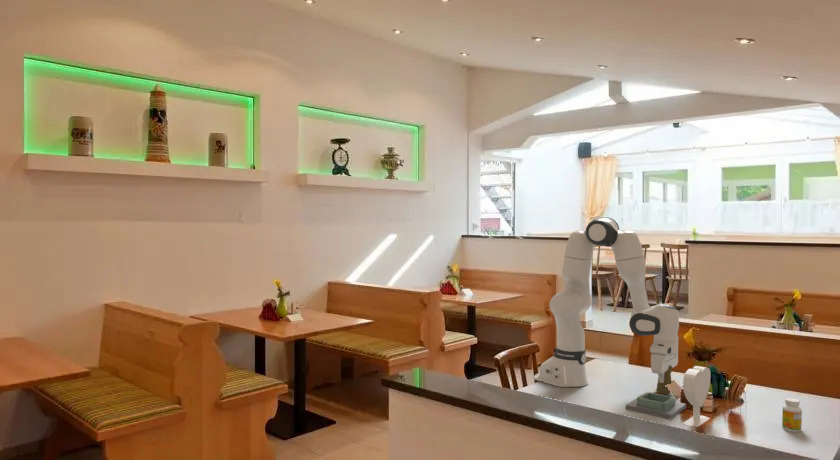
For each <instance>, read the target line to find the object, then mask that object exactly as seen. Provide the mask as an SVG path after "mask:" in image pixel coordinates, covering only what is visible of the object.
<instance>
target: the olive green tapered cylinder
mask: <svg viewBox="0 0 840 460" xmlns="http://www.w3.org/2000/svg"><path fill="white" fill-rule="evenodd" d="M672 372H673V368H672V366H671V365H670V366H669V368H668V370H667V371H666V372H665V374H664V378H665V382H664V383H660V382H659V376H658V379H657V385H656V391H655V392H657V394H662V395H672V394H671V393H670V391H669V390H668V388H667V387H665V385H667V384H671V383H672Z"/></svg>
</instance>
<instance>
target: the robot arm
mask: <svg viewBox="0 0 840 460" xmlns="http://www.w3.org/2000/svg"><path fill="white" fill-rule="evenodd" d="M596 246H600V247H608V248H611V250H612V251H613V255H614V260H615V266H616V269H617V272H618V273H619V277H620V278H621V279H622V280H623V281H624V283H626V286H627V288H628V289H629V294H630V299H631V303H632V311H631V316H630V318H629V322H628V323H629V324H628V325H629V328H630V330H631V332H632V333H634V334H635V335H637V336H640V337H642V336H643V337H645V336H653V342H652V343H651V346H650V347H649V352H650V353H651V355H650V369H651V373H652V374H657V375H658V377H659V382H660V383H664V382H665V378H664V374H665V372H666V371H667V370H668V368H669V366H670V365H671V366H672V369H673V368H675V367H677V365H678V364H679V334H678V332H679V328H680V316H679V310H678V309H677V308H676V307H675V306H673V305H671V304H667V303H663V302H662V303H657V304H656V305H654V306H651V305H650V303H649V300H648V299H649V298H648V294H647V290H646V283H645V282H646V272H647V271H646V258H645V254H644V249H643V246H642V244H641V240H640V237H639V236H638V234H637V233H636V232H635V231H634V230H633V231H632V230H620V227H619V223H618V222H617V221H616V220H615V219H613V218H611V217H609V216H608V217H602V216H600V217H598V218H595V219H593V220H591V221H590V222H589V223H588V224H587V226H586V228H585V230H575V231H573V232H572V233H570V234H569V237H568V240H567V242H566V247H565V250H564V251H565V252H564V255H563V264H562V270H561V275H562V277H563V279H564V281H563V282H564V290H562V291H558V292H557V293H556V294H555V295H553V296H552V297H551V298H550V301H549V309H550V311H551V313H552V314H553V316H554V319H555V320H554V321H555V324H556V325H555V326H556V332H557V333H556V334H557V342H556V343H557V346H556V347H555V348H553V349H552V350H551V354H552V353H553V354H552V355H553V356H551V357H550V358H548V359H546V360H545V361H544V362H542V363H541V365H540V367H539V370H538V371H539V372H538V373H536V374H534V376H533V380H535V381H539V382H541V383H545V384H549V385H552V386H556V387H559V388H567V387H570V388H571V387H572V388H577V387H579V388H580V387H585V386H587V385H588V384H589V380H588V377H587V372H586V358H587V357H586V349H585V347H586V346H585V344H586V343H585V338H586V337H585V336H586V334H585V333H586V332H585V329H584V328H583V326H582V322H581V315H582V314H585V313H586V312H587V311H588V310H589V309H590V308H591V306H592V304H593V297H592V295H591V289H590V273H591V266H592V260H593V253H594V249H595V247H596ZM542 381H543V382H542Z"/></svg>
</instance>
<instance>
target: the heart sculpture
mask: <svg viewBox="0 0 840 460" xmlns="http://www.w3.org/2000/svg"><path fill="white" fill-rule="evenodd" d="M711 378H712V377H711V369H710V368H709V367H705V366H699V365H694V366H693V367H692V368H688V369H687V370H686V371H685V373H684V374H683V379H682V380H683V381H682V383H683V385H682V386H683V393H684V397H685V398H686V400H687V401H688V403H690V405H691V406H692V407H693V409H692V416H690V418H688V419H687V420H685V421H683V422H682V424H684V425H687V426H690V427H697V428H699V427H700V426H701V425H702V424H704V423H705V422H707V421H709V420H710V419H711V418H710V417H708V416H706V415H701V408H703V406H704V403H705V402H706V399H707V397H708V393H709V390H710V386H711Z"/></svg>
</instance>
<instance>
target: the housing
mask: <svg viewBox="0 0 840 460" xmlns="http://www.w3.org/2000/svg"><path fill="white" fill-rule="evenodd" d="M686 409H687V404H686V403H684V402H680V401H676V397H674V396H671V395H668V394H662V393H658V392H657V393H656V392H649V391H645V392H644V393H642V394H641V395H638V396H637V397H636V398H635V399H633V400H631V401H630V402H628V403H626V404H625V410H629V411H633V412H638V413H642V414H647V415H651V416H655V417H659V418H664V419H668V420H672V419H674V418H675V417H676V416H677V415H679V414H680V413H682V412H683V411H684V410H686Z"/></svg>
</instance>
